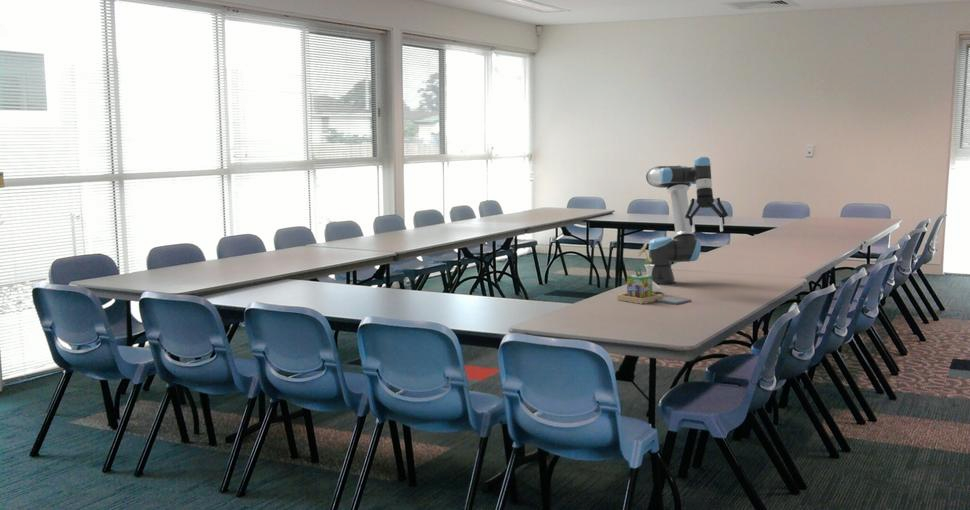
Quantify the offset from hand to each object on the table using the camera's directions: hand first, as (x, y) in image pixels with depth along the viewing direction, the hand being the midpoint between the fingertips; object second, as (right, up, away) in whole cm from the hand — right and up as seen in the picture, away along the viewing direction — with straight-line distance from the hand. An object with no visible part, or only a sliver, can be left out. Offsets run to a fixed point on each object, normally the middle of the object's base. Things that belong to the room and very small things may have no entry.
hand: (707, 231), depth 443 cm
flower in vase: (-27, -30, +8) cm, 41 cm away
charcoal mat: (-20, -33, -16) cm, 41 cm away
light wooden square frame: (-34, -32, -10) cm, 48 cm away
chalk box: (-34, -33, -10) cm, 49 cm away
